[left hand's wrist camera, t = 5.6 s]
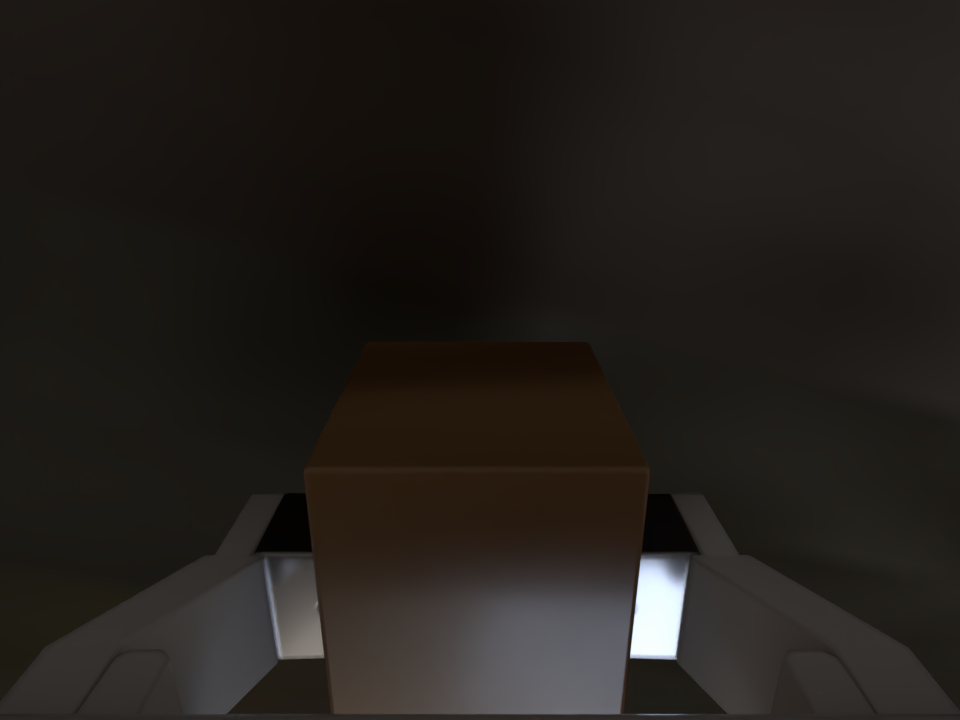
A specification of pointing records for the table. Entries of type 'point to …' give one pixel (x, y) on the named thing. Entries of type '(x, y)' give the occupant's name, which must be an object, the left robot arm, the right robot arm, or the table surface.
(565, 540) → the brick
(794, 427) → the table surface
